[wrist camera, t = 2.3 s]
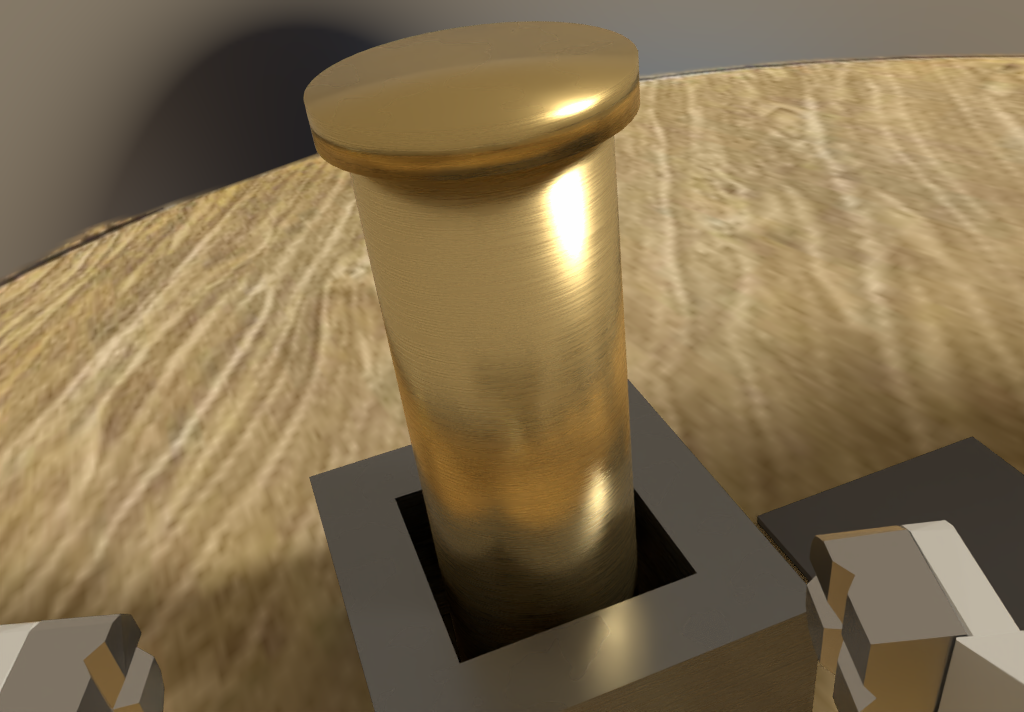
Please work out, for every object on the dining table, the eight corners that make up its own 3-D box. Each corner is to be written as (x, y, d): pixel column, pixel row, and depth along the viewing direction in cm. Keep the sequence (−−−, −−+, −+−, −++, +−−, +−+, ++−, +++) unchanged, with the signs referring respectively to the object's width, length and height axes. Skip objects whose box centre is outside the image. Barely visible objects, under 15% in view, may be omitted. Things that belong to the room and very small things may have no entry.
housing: (632, 496, 37) (625, 376, 34) (809, 739, 27) (823, 604, 24) (347, 597, 34) (309, 477, 31) (435, 903, 25) (393, 778, 21)
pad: (971, 442, 37) (972, 436, 37) (1204, 619, 29) (1207, 613, 29) (757, 521, 35) (757, 516, 35) (946, 737, 27) (948, 731, 27)
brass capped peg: (604, 554, 35) (559, 4, 23) (701, 706, 29) (703, 74, 18) (422, 620, 33) (280, 64, 22) (487, 796, 27) (338, 161, 16)
